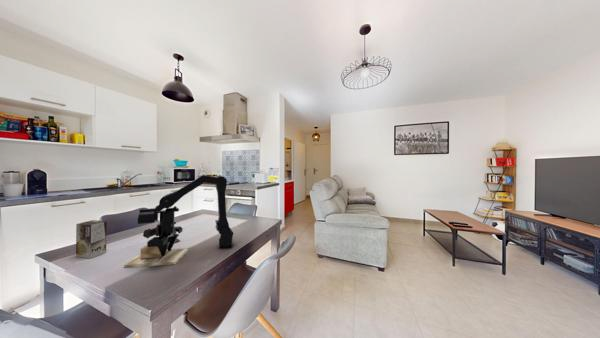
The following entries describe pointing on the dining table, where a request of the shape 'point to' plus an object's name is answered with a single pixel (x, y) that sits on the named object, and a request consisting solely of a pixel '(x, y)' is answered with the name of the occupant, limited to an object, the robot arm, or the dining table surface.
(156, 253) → the block
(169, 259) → the birch board
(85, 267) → the dining table surface
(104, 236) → the coffee box
